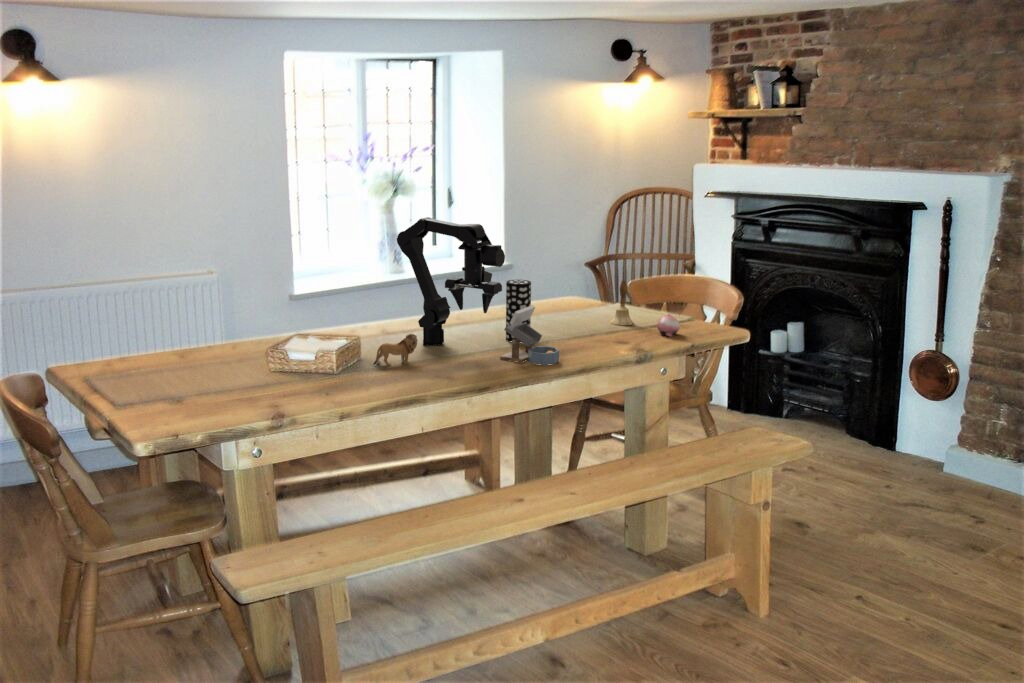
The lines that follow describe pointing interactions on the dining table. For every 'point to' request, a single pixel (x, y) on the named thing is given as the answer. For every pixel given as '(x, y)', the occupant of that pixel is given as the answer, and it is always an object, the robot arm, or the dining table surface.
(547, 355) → the blue bowl
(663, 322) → the piggy bank
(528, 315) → the tipper
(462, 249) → the robot arm
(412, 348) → the lion figurine
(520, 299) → the white-spotted black cylinder
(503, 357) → the stand
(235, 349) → the dining table surface
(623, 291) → the hand bell
